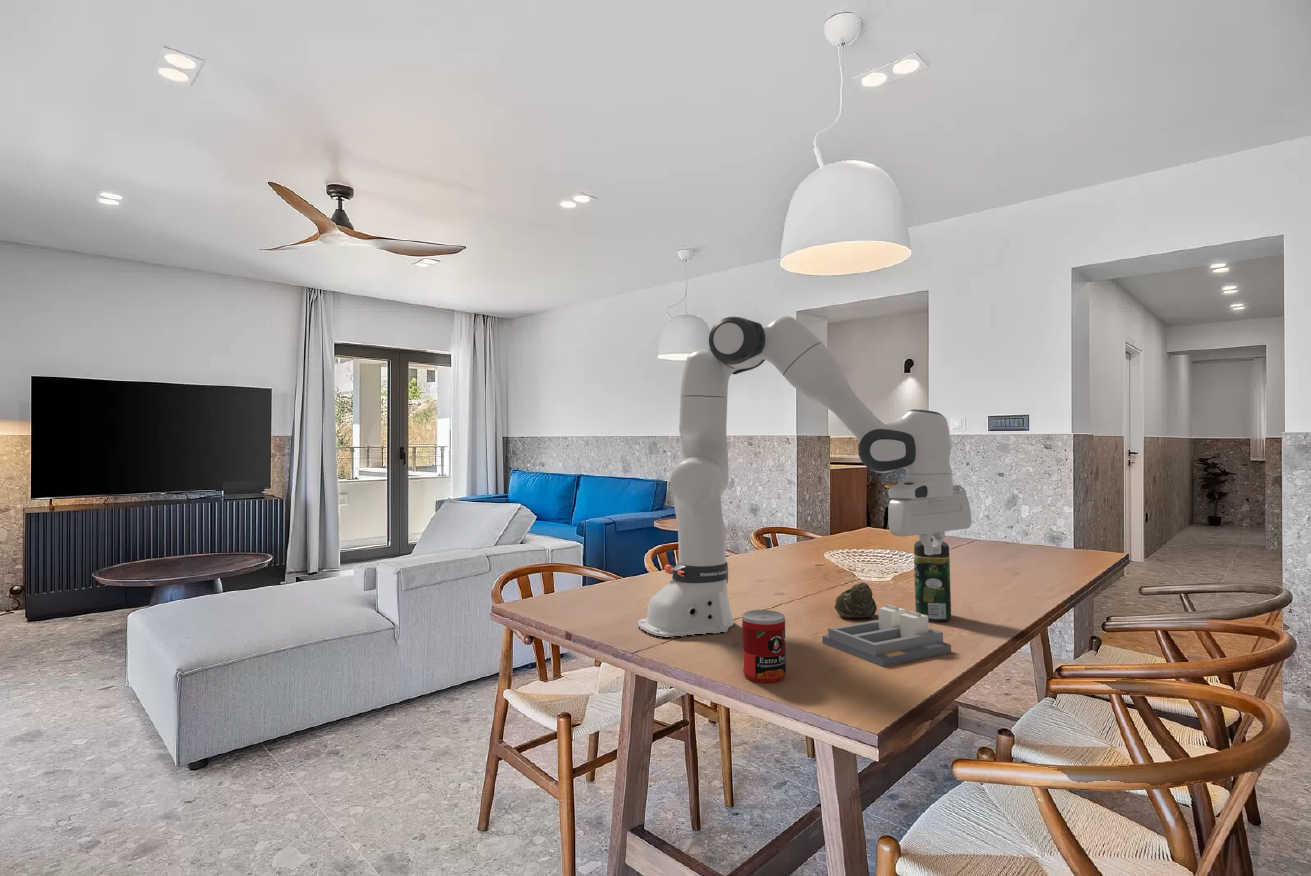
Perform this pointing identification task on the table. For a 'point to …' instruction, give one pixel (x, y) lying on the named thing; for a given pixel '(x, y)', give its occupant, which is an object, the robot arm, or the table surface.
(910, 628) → the tab near
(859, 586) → the dark green lumpy mound
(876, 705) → the table surface
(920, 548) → the coffee jar
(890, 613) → the tab far
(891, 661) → the switch bank
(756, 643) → the canned food
